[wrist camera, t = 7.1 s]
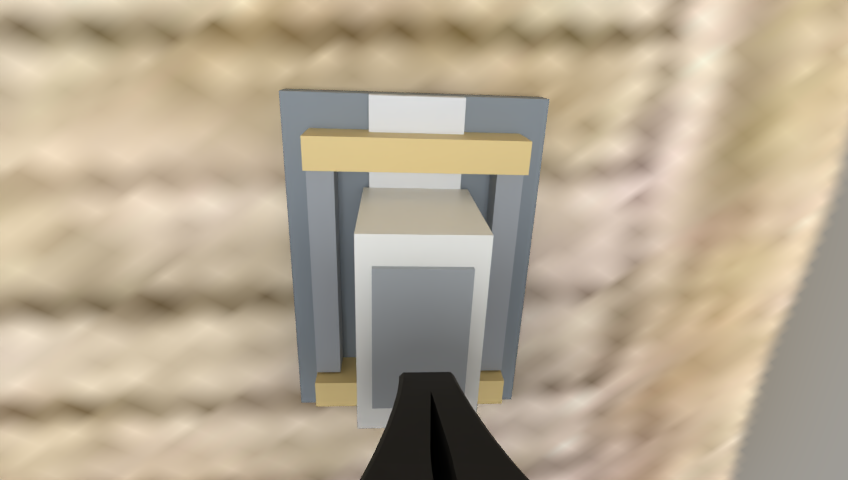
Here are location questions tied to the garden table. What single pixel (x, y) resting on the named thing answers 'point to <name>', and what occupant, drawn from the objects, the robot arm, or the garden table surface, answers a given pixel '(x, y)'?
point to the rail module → (418, 292)
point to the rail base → (403, 168)
